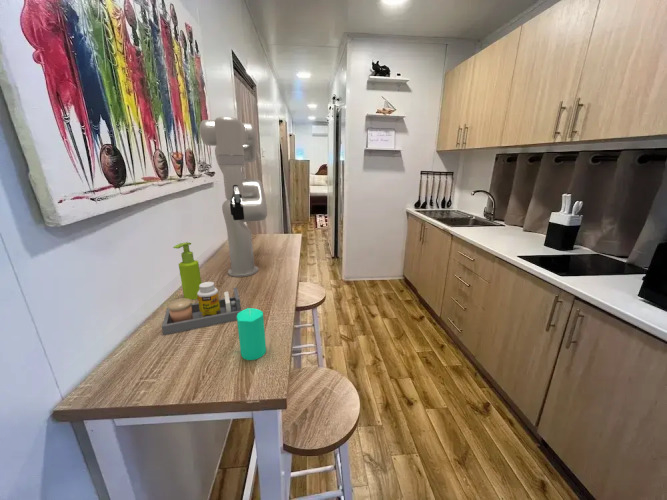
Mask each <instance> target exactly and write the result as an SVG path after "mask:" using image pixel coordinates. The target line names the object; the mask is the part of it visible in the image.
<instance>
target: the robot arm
mask: <svg viewBox="0 0 667 500" xmlns="http://www.w3.org/2000/svg"><path fill="white" fill-rule="evenodd" d="M199 135H200V138H201V141H202V142H203V144H204V145H206V146H209V147H210V146H212V147H213V146H214V155H215V159H216V163H217V165H218V167H219V169H220V171H221V173H222V176H223V185H224V195H225V199H226V200H224V201H223V203H222V207H221V209H222V210H221V211H222V215H223V218H224V222H225V225H226V233H227V241H228V242H227V243H228V250H229V259H230V260H229V261H230V268H229V269H228V270H227V274H228V276H231V277H235V278H241V277H243V278H244V277H249V276H252V275H255V274H256V273H258V271H259V267H258V266H257V265H255V260H254V246H253V238H252V237H253V236H252V231H251V229H250V228H249V227H248V226H247V225H246V224H245V223H246V222H247V223H248V222H261V221H263V220H266V218H267V217H268V208H267V207H268V205H267V201H266V196H265V195H266V194H265V188H264V185H263V183H262V181H261V180H260V179H257V178H245V173H244V171H243V170H242V168H245V167H246V163H254V162H255V161H256V160H257V155H258V153H257V151H258V150H257V149H258V147H257V144H258V140H257V139H258V138H257V131H256V129H255V126H254V125H253V124H252V123H250V122H241V121H240V119H238V118H237V117H232V116H231V117H230V116H220V117H219V116H218V117H216V118H215V119H202V121H201V122H200V125H199Z"/></svg>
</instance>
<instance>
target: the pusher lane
mask: <svg viewBox="0 0 667 500" xmlns="http://www.w3.org/2000/svg"><path fill="white" fill-rule="evenodd" d="M233 294H234V296H229V299H230V306H231V312H227V311H226V303H225V297H223V298H219V303H220V311H221V313H220V314H217V315H212V316H206V317H201V316H200V309H199V302H196V303H191V307H192V313H193V319H191V320H185V321H180V322H175V323H172V322H171V317H170V312H169V309H168V307H167V308H166V311H165V314H164V317H163V321H162V324H161V329H162V330H161V331H162V335H163V336H167V335H171V334H176V333H181V332H187V331H191V330H197V329H201V328H206V327H211V326H216V325H221V324H226V323H230V322H235V321H236V322H237V314H238V313H239V312H241V311H242V307H241V300H240V295H239V291H238V288H237V287H233Z"/></svg>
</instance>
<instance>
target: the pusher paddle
mask: <svg viewBox="0 0 667 500" xmlns="http://www.w3.org/2000/svg"><path fill="white" fill-rule="evenodd" d="M223 294H224V298H225V303H226V311H227V312H231V306H230V299H229V297H230V294H229V291H224V292H223Z"/></svg>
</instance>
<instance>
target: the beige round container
mask: <svg viewBox="0 0 667 500" xmlns="http://www.w3.org/2000/svg"><path fill="white" fill-rule="evenodd" d="M191 304H192V300H190V299H188V298H184V297H182V298H177V299H174V300H172V301H169V302H168V304H167V308H168V309H169V312H170V317H171V322H172V323H175V322H180V321H185V320H191V319H193V313H192V307H191Z"/></svg>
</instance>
